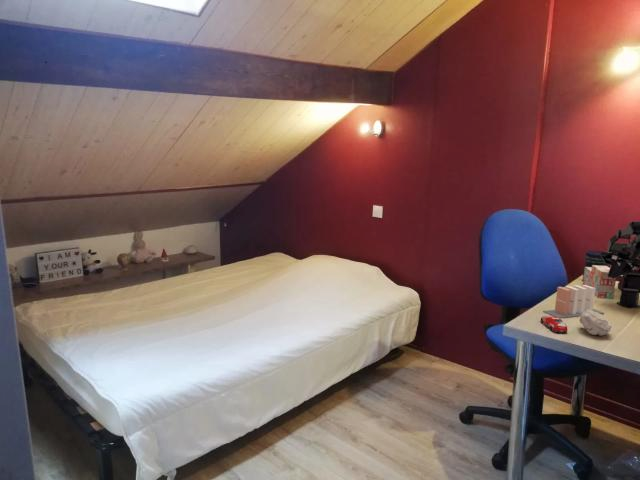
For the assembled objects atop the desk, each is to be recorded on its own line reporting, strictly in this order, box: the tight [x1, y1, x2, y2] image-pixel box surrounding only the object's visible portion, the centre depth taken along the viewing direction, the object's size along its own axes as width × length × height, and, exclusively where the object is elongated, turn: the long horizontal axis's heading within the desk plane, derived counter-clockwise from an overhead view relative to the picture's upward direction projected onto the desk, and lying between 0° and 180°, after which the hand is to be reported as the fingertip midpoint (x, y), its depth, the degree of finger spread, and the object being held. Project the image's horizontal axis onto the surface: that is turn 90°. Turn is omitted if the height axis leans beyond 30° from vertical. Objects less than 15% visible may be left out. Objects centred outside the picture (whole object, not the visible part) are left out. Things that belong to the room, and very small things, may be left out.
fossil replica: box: [579, 309, 612, 336], centre depth 166 cm, size 12×8×10 cm
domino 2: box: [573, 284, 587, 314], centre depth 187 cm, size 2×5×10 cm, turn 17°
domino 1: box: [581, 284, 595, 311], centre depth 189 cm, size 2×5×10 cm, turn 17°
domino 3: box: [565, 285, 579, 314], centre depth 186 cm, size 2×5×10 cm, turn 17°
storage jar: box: [581, 250, 608, 282], centre depth 233 cm, size 10×10×15 cm
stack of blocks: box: [582, 265, 617, 300], centre depth 217 cm, size 21×6×12 cm, turn 168°
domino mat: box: [543, 308, 604, 319], centre depth 188 cm, size 22×8×1 cm, turn 107°
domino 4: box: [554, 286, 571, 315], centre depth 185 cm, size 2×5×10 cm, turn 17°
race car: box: [540, 315, 568, 334], centre depth 172 cm, size 13×5×4 cm, turn 176°
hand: (610, 277), depth 190 cm, fingers closed
